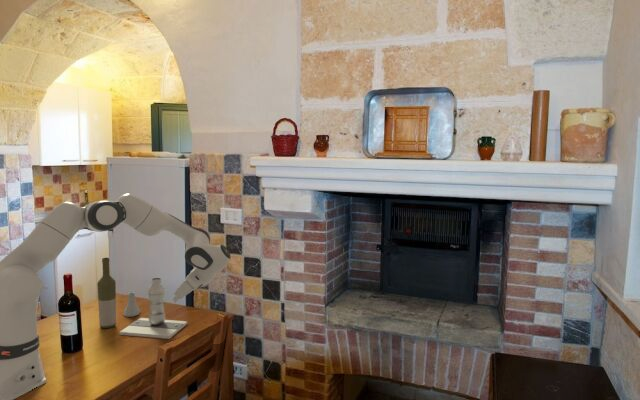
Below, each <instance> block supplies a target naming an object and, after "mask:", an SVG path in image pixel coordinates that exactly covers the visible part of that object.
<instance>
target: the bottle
mask: <svg viewBox="0 0 640 400" xmlns="http://www.w3.org/2000/svg"><path fill="white" fill-rule="evenodd" d="M101 262H102V277H100V279H99V280H98V281H97V285H96V286H97V299H98V300H97V302H98V304H97V305H98V320H99V321H98V323H99V326H100V328H102V329H110V328H113V327H115V326H116V325H117V304H116V303H117V298H116V297H117V296H116V295H117V291H116V290H117V289H116V285H117V284H116V283H117V282H116V280H115V279H114V278H113V277H112V276H111V273H110V258H109V257H103V258H102V259H101Z"/></svg>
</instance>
